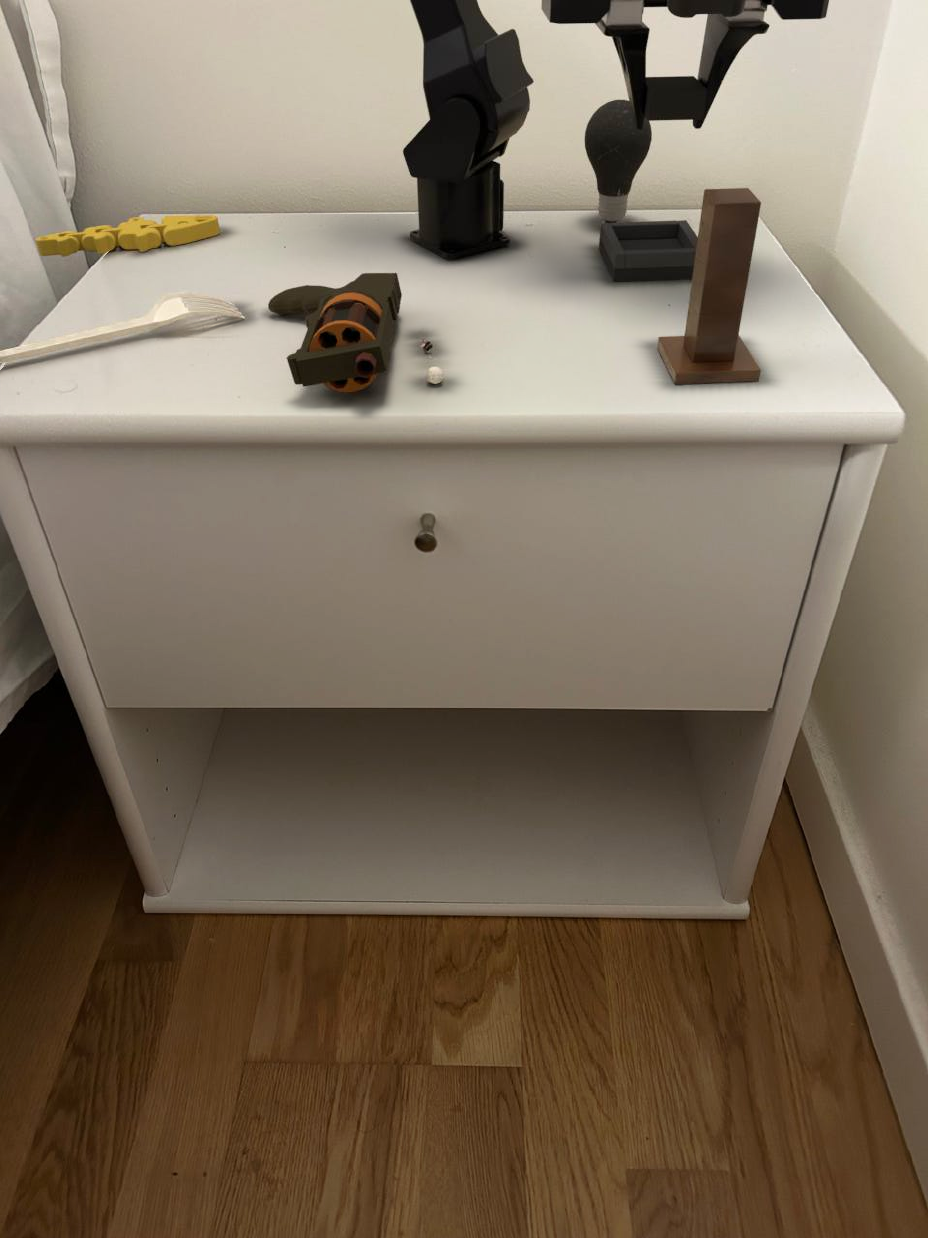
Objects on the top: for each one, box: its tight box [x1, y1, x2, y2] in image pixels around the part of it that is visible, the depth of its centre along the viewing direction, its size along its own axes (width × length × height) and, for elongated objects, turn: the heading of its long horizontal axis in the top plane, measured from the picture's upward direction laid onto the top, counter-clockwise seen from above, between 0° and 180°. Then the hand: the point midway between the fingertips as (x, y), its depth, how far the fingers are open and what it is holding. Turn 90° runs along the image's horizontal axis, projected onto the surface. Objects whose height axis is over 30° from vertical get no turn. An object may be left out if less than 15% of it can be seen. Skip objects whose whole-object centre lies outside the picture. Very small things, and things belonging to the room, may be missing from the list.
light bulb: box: [584, 99, 653, 223], centre depth 87 cm, size 6×6×10 cm
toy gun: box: [267, 272, 403, 393], centre depth 69 cm, size 5×17×10 cm
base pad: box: [598, 219, 698, 283], centre depth 82 cm, size 7×7×2 cm
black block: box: [644, 75, 707, 122], centre depth 73 cm, size 4×4×2 cm
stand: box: [656, 187, 762, 385], centre depth 65 cm, size 6×6×11 cm
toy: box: [35, 214, 221, 258], centre depth 87 cm, size 15×1×5 cm
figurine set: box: [417, 332, 444, 385], centre depth 69 cm, size 1×8×1 cm
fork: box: [0, 291, 246, 364], centre depth 71 cm, size 3×20×2 cm, turn 120°
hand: (667, 127), depth 74 cm, fingers closed on black block, 4 cm apart
